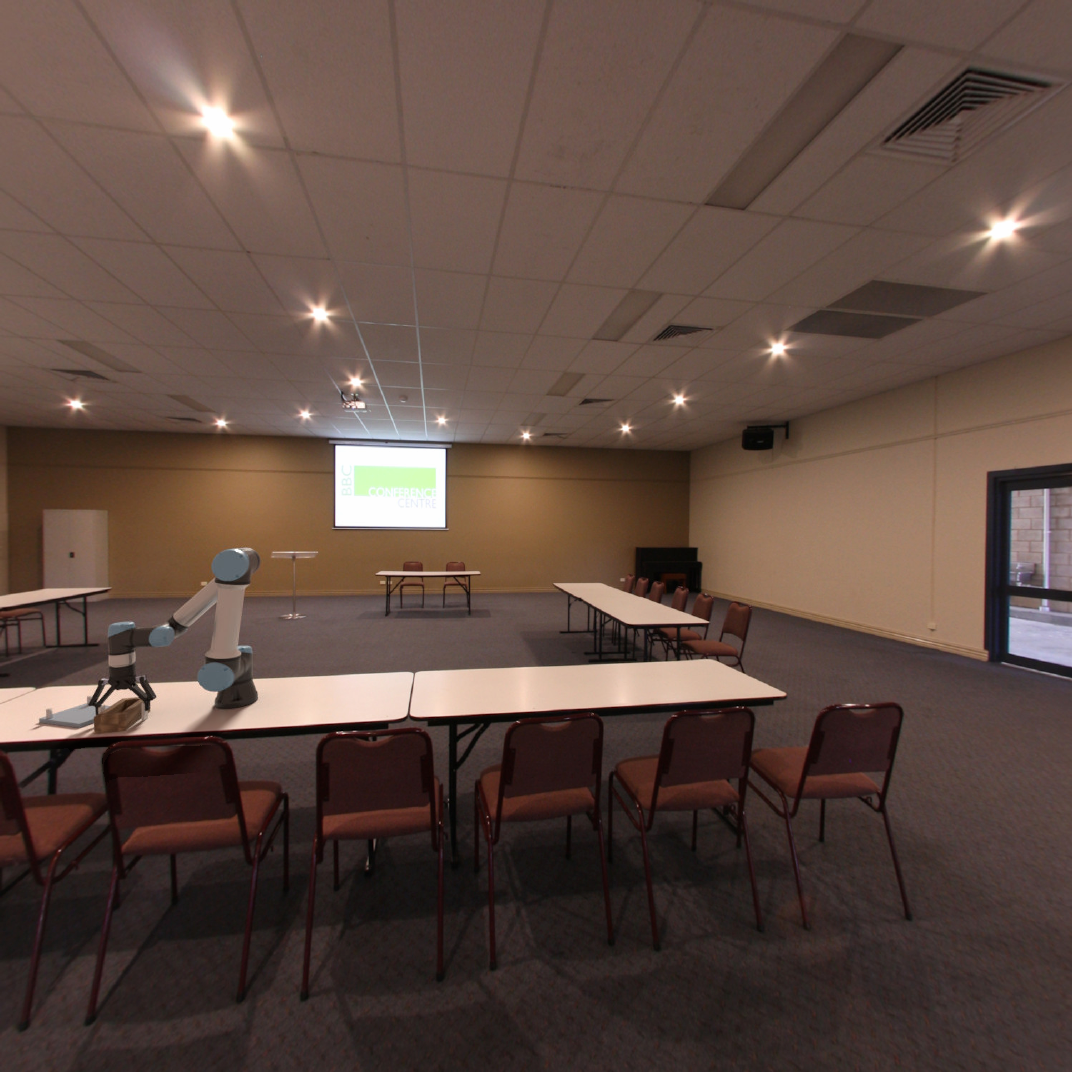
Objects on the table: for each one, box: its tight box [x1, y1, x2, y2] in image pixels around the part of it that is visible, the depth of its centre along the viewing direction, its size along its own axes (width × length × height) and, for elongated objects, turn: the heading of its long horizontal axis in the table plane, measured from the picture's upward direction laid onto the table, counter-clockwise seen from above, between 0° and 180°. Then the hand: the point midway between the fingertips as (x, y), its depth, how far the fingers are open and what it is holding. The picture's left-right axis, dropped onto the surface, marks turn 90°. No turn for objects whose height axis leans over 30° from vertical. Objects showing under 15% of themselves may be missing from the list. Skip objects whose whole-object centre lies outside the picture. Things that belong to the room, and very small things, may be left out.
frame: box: [93, 696, 151, 735], centre depth 174 cm, size 9×18×6 cm, turn 17°
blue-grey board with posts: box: [38, 695, 111, 729], centre depth 178 cm, size 20×15×5 cm
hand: (123, 721), depth 174 cm, fingers open, 12 cm apart
